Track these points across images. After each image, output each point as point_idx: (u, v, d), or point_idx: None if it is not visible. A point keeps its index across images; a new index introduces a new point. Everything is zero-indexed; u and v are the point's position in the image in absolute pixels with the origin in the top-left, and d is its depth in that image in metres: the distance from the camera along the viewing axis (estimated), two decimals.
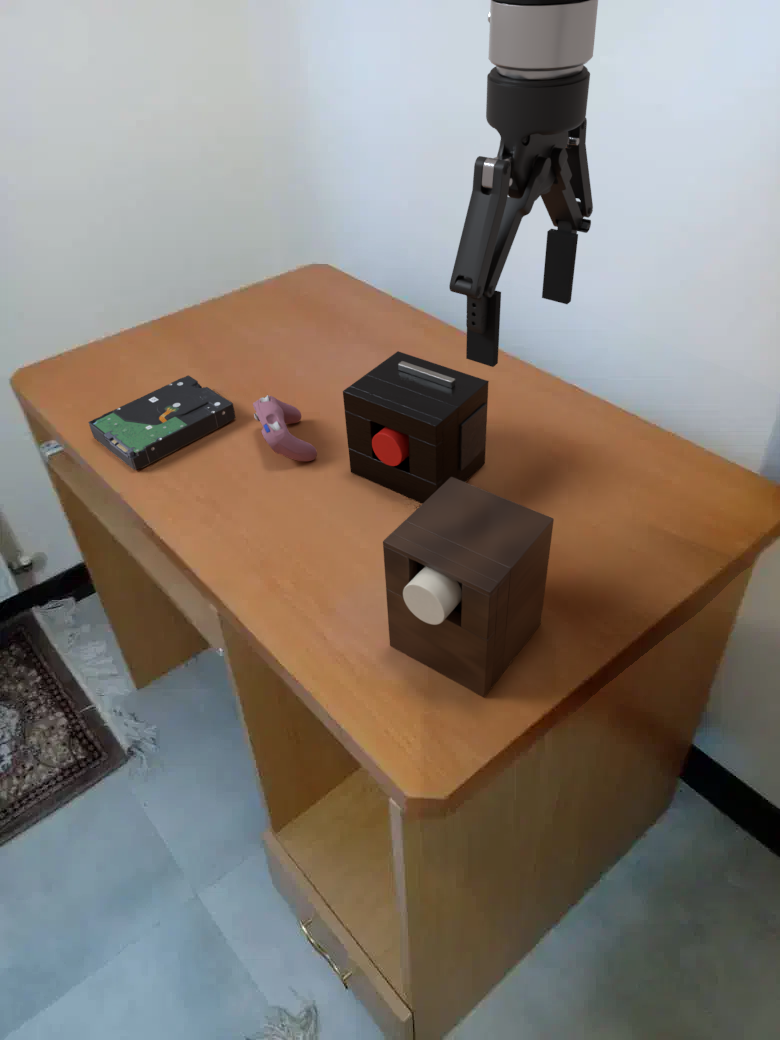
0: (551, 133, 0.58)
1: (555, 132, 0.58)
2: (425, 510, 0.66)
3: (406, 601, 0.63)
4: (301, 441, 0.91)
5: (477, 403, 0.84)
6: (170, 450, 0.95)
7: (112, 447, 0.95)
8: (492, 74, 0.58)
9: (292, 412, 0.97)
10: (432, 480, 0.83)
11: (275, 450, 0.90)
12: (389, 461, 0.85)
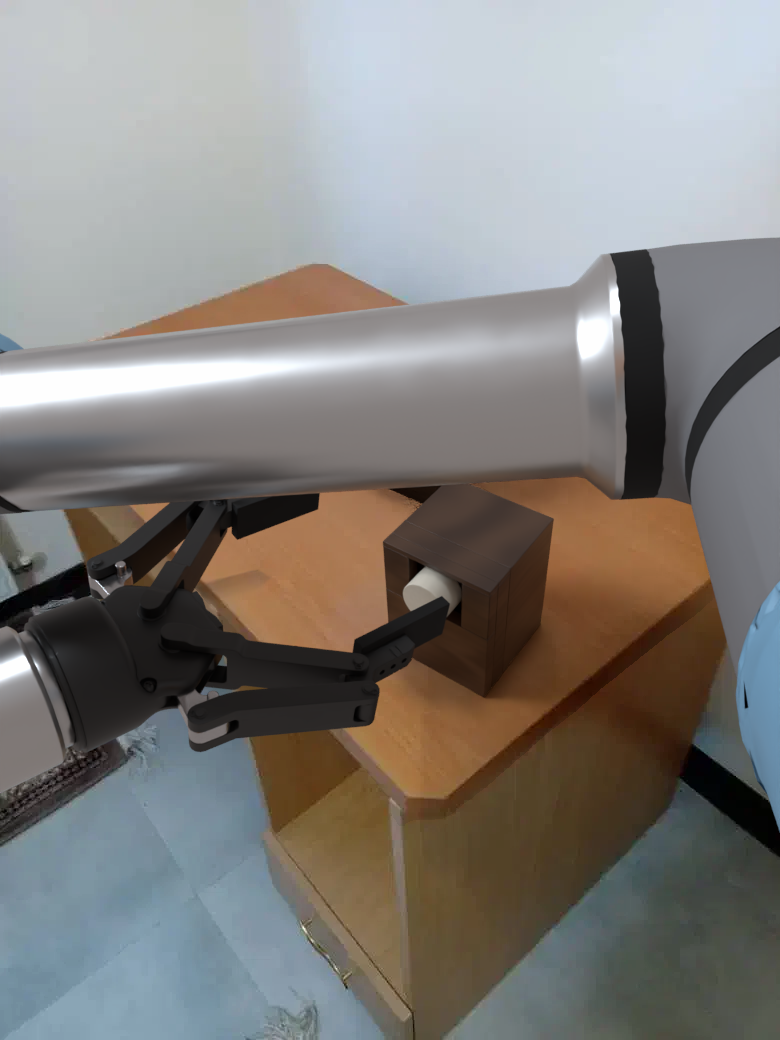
0: (131, 657, 0.39)
1: (127, 653, 0.39)
2: (425, 510, 0.66)
3: (406, 601, 0.63)
4: None
5: None
6: None
7: None
8: (76, 750, 0.41)
9: None
10: None
11: None
12: None
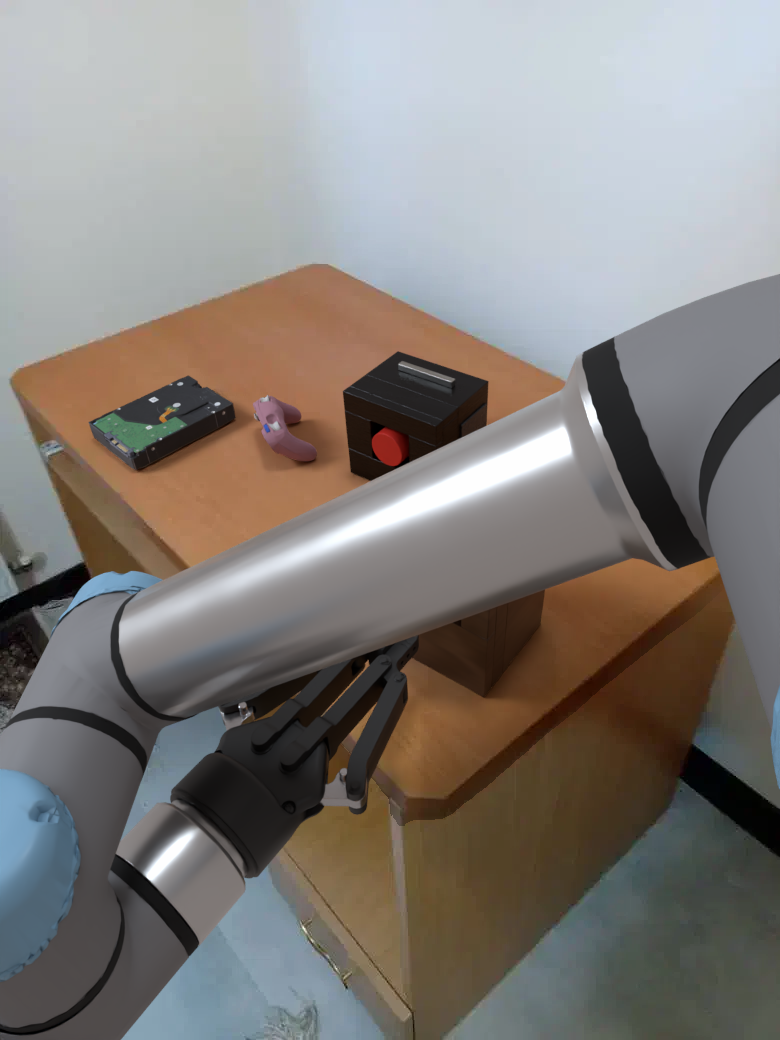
0: (270, 792, 0.48)
1: (267, 790, 0.47)
2: None
3: None
4: (301, 441, 0.91)
5: (477, 403, 0.84)
6: (170, 450, 0.95)
7: (112, 447, 0.95)
8: (246, 877, 0.49)
9: (292, 412, 0.97)
10: None
11: (275, 450, 0.90)
12: (389, 461, 0.85)
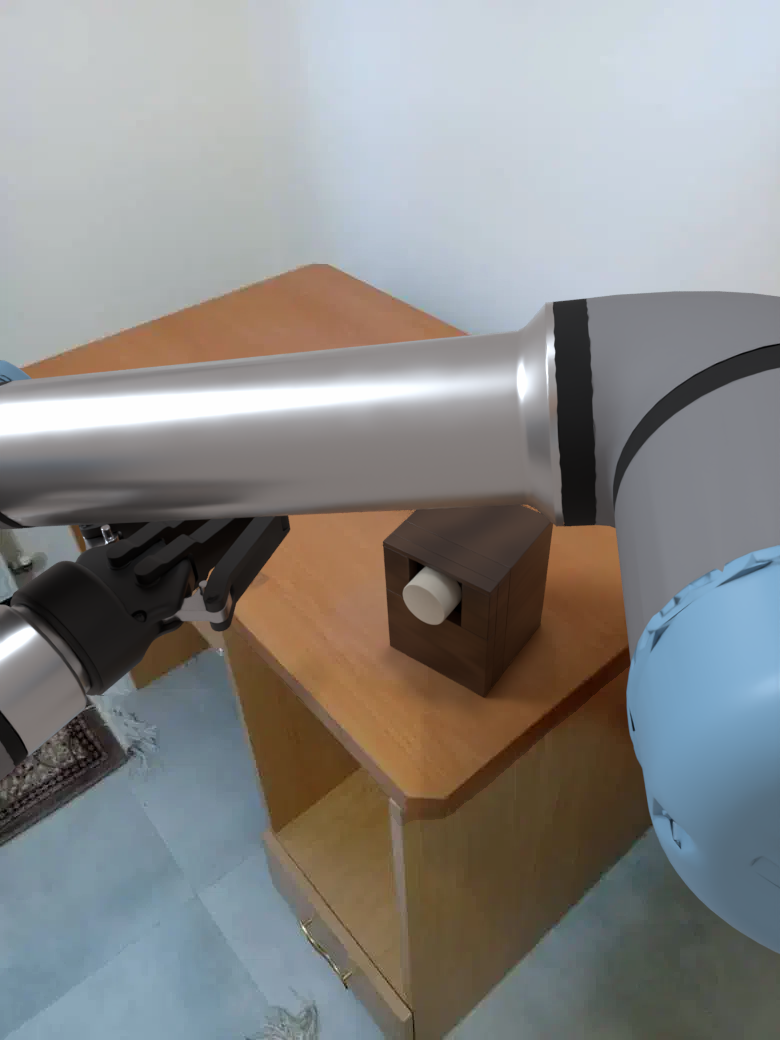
0: (116, 595, 0.44)
1: (111, 592, 0.43)
2: (425, 510, 0.66)
3: (406, 601, 0.63)
4: None
5: None
6: None
7: None
8: (93, 694, 0.45)
9: None
10: None
11: None
12: None
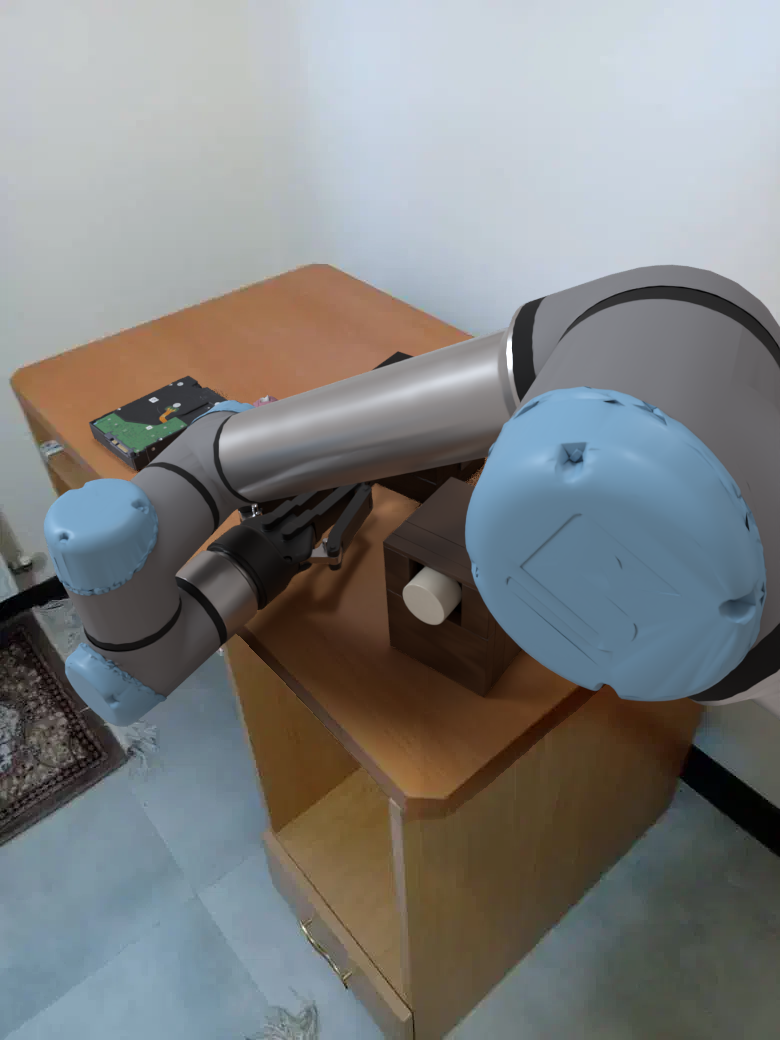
0: (274, 545, 0.70)
1: (272, 543, 0.70)
2: (425, 510, 0.66)
3: (406, 601, 0.63)
4: None
5: None
6: None
7: (112, 447, 0.95)
8: (257, 609, 0.71)
9: None
10: (432, 480, 0.83)
11: None
12: None
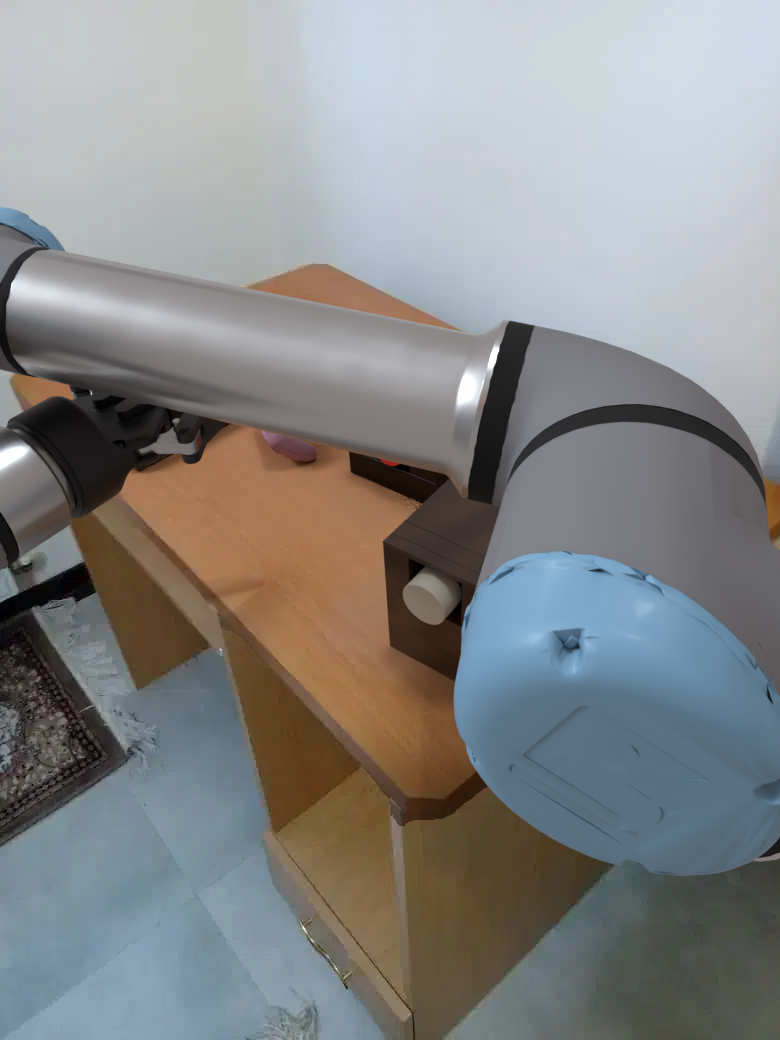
0: (97, 422, 0.49)
1: (94, 419, 0.49)
2: (425, 510, 0.66)
3: (406, 601, 0.63)
4: (301, 441, 0.91)
5: None
6: None
7: None
8: (78, 514, 0.51)
9: None
10: (432, 480, 0.83)
11: (275, 450, 0.90)
12: (389, 461, 0.85)
